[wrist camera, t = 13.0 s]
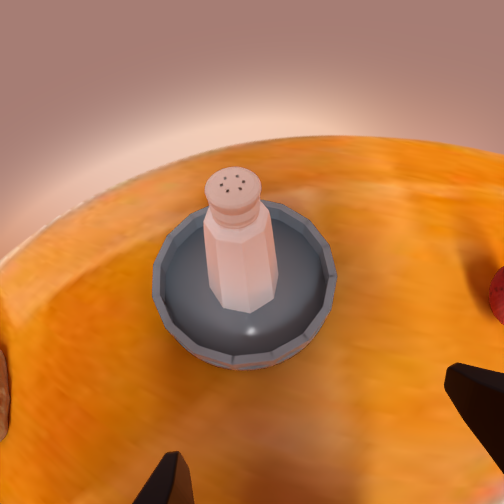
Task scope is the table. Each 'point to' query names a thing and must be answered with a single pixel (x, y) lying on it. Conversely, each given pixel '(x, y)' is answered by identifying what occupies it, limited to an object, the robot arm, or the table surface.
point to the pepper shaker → (239, 241)
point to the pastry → (3, 397)
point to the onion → (497, 295)
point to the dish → (236, 322)
